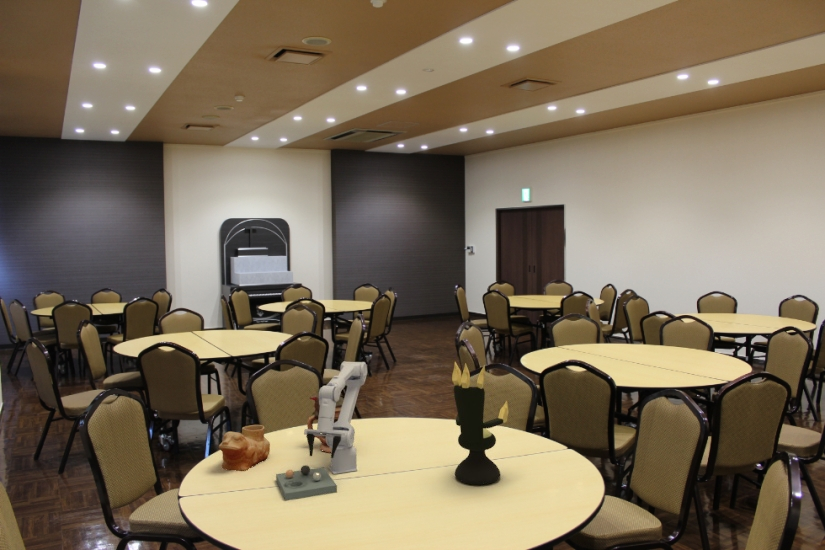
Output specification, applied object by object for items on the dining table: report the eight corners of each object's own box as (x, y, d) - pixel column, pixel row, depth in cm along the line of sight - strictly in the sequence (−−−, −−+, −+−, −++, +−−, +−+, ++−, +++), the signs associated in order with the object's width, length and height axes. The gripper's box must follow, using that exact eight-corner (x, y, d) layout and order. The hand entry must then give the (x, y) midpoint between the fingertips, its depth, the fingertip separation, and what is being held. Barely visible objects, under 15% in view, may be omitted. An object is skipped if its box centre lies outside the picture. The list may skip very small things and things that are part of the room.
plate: (323, 473, 249) (323, 467, 249) (336, 492, 230) (336, 485, 230) (276, 480, 242) (276, 474, 242) (285, 500, 224) (285, 493, 224)
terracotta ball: (293, 475, 240) (292, 467, 240) (294, 478, 237) (294, 470, 237) (284, 477, 239) (284, 469, 239) (286, 480, 236) (286, 471, 236)
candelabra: (510, 473, 245) (508, 354, 242) (492, 494, 225) (490, 365, 222) (463, 466, 253) (461, 351, 250) (441, 487, 233) (438, 362, 230)
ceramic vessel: (209, 472, 253) (207, 434, 252) (250, 451, 277) (248, 416, 276) (239, 476, 248) (237, 438, 247) (277, 454, 272) (276, 419, 271)
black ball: (309, 472, 243) (308, 463, 243) (311, 475, 240) (310, 466, 240) (300, 473, 242) (299, 464, 242) (301, 476, 239) (301, 467, 239)
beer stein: (359, 451, 281) (328, 440, 292) (367, 387, 281) (336, 378, 291) (333, 458, 268) (302, 446, 278) (341, 390, 267) (310, 381, 278)
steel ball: (320, 478, 237) (320, 470, 237) (322, 481, 234) (322, 472, 234) (311, 480, 236) (311, 471, 235) (313, 483, 233) (313, 474, 232)
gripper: (305, 415, 236) (299, 454, 231) (344, 419, 235) (340, 458, 231) (307, 417, 242) (302, 455, 238) (346, 421, 242) (342, 459, 238)
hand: (321, 456), depth 235 cm, fingers open, 7 cm apart
